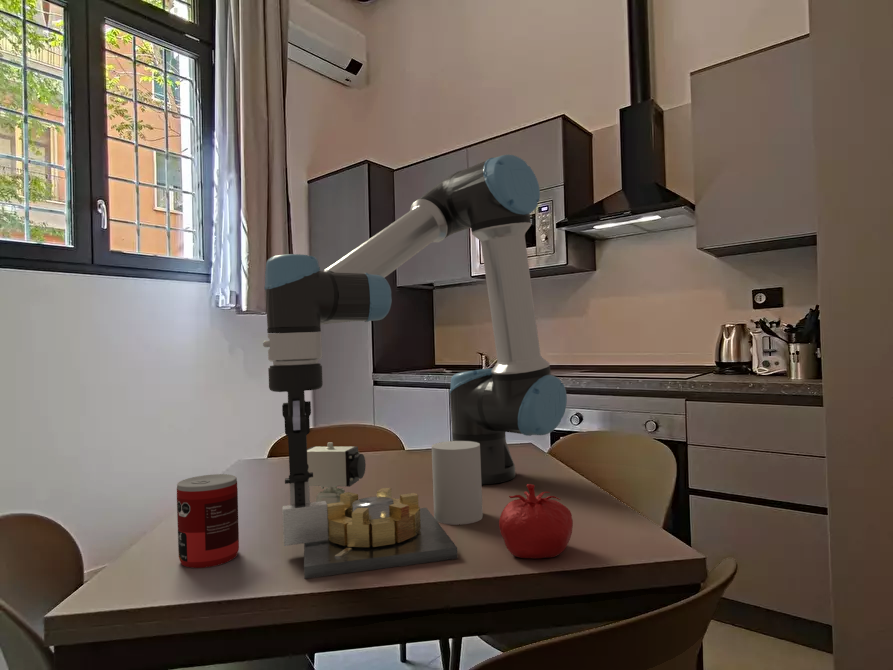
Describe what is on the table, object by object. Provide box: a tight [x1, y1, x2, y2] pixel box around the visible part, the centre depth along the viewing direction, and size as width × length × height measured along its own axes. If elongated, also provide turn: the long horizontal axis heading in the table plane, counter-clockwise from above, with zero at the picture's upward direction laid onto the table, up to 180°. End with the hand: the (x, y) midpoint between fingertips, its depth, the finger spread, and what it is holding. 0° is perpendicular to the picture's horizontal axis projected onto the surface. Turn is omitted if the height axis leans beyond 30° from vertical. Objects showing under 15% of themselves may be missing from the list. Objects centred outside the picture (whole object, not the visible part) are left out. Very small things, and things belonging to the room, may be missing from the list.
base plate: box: [303, 496, 459, 579], centre depth 83 cm, size 20×20×6 cm
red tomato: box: [498, 483, 574, 560], centre depth 78 cm, size 10×10×9 cm
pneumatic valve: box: [307, 441, 367, 504], centre depth 103 cm, size 6×12×12 cm, turn 78°
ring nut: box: [282, 487, 421, 547], centre depth 82 cm, size 20×13×5 cm
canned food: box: [176, 473, 240, 569], centre depth 80 cm, size 8×8×11 cm
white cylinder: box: [431, 440, 484, 526], centre depth 95 cm, size 8×8×12 cm
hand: (301, 525), depth 82 cm, fingers closed
